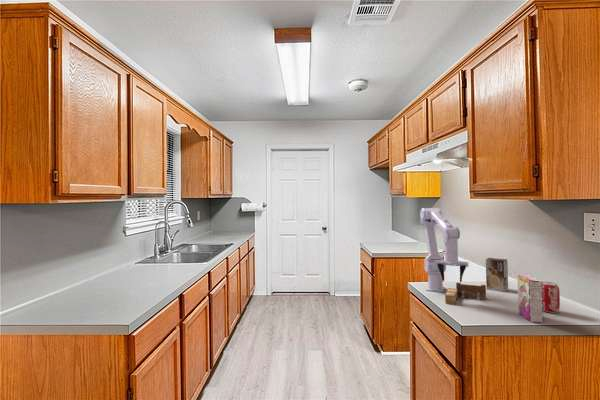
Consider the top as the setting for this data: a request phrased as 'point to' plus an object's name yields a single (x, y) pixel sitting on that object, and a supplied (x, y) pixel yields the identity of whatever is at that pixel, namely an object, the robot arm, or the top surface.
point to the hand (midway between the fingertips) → (451, 280)
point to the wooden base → (471, 291)
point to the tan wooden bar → (451, 296)
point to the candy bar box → (530, 298)
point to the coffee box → (497, 274)
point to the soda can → (550, 297)
